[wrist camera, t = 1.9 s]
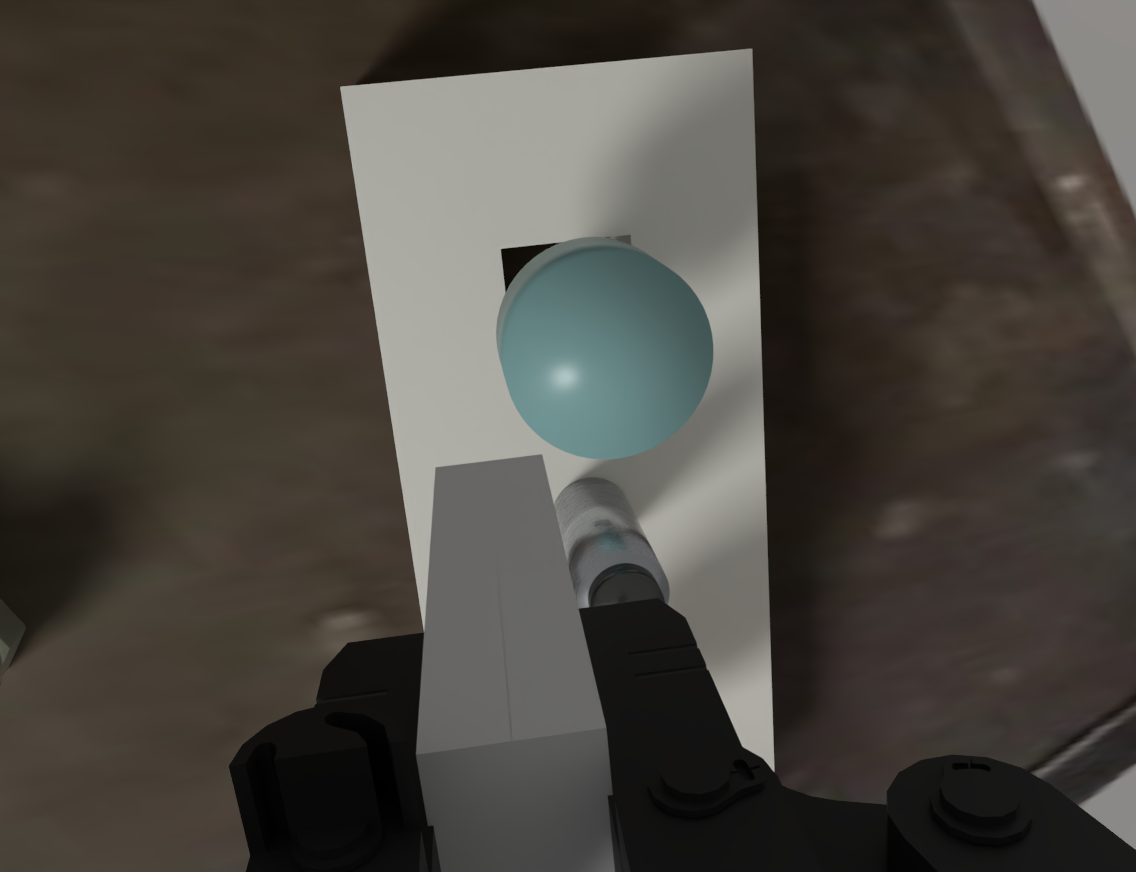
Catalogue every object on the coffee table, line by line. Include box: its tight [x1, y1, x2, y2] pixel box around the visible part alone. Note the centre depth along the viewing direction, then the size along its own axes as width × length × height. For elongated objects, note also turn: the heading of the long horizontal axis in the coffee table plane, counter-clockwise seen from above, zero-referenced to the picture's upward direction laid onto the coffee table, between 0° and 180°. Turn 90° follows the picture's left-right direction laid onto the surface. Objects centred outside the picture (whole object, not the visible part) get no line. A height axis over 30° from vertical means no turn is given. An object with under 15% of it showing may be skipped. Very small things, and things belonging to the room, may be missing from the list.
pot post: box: [554, 477, 670, 609], centre depth 30 cm, size 3×3×7 cm
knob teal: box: [496, 237, 713, 459], centre depth 28 cm, size 5×5×7 cm
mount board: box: [340, 49, 774, 771], centre depth 35 cm, size 12×28×4 cm, turn 5°
